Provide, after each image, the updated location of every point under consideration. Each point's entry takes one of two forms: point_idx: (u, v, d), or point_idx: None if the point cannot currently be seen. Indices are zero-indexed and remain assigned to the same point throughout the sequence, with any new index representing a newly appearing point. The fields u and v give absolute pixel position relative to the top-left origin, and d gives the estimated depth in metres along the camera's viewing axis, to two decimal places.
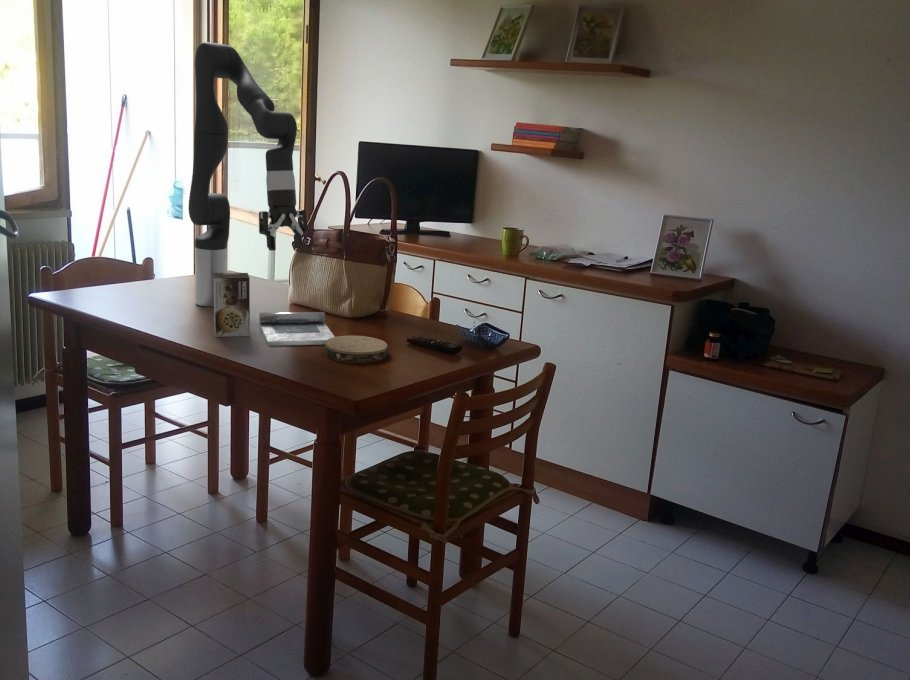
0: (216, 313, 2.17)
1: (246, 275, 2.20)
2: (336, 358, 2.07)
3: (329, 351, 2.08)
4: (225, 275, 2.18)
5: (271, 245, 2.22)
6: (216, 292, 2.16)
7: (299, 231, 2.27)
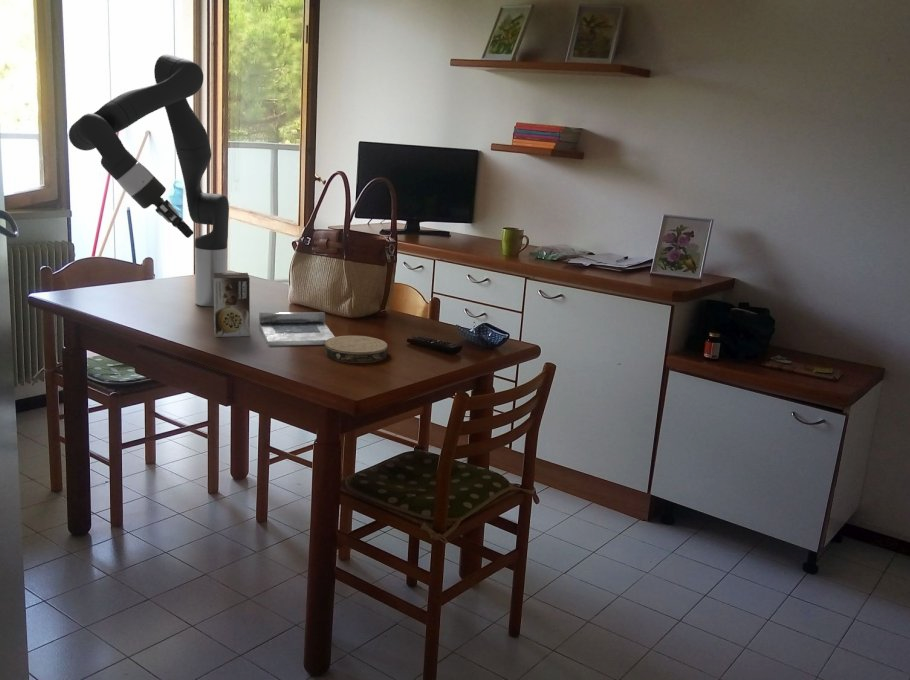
0: (216, 313, 2.17)
1: (246, 275, 2.20)
2: (336, 358, 2.07)
3: (329, 351, 2.08)
4: (225, 275, 2.18)
5: None
6: (216, 292, 2.16)
7: None
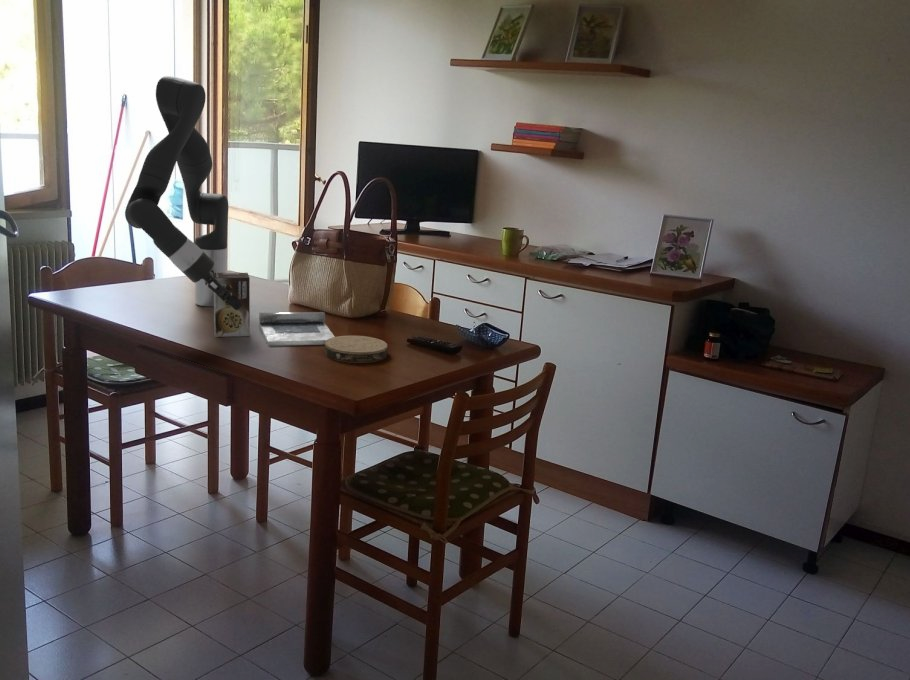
0: (216, 313, 2.17)
1: (246, 275, 2.20)
2: (336, 358, 2.07)
3: (329, 351, 2.08)
4: (225, 275, 2.18)
5: None
6: None
7: None
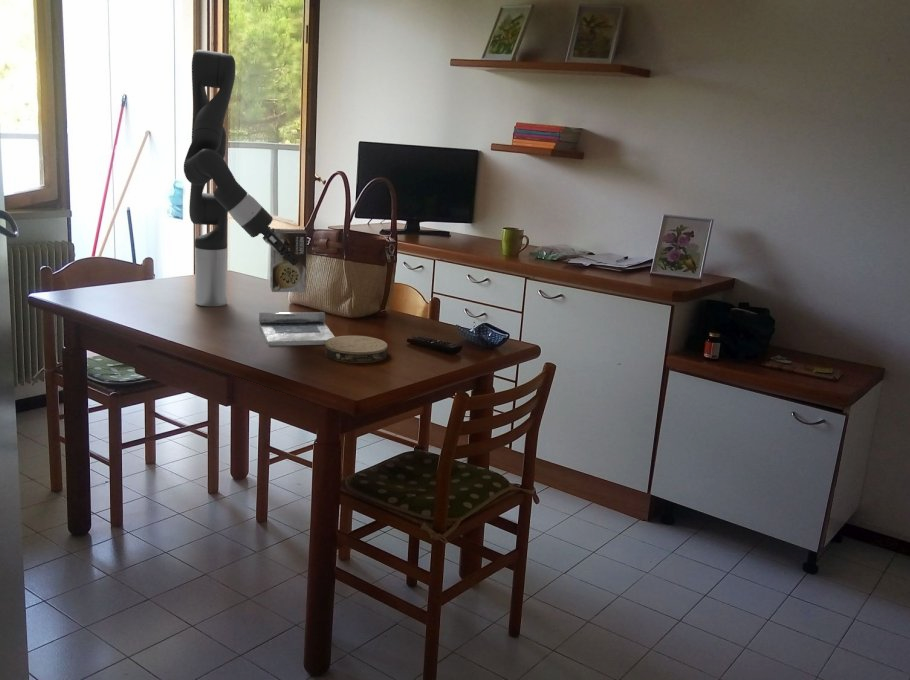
0: (273, 268, 2.19)
1: (303, 231, 2.21)
2: (336, 358, 2.07)
3: (329, 351, 2.08)
4: (283, 230, 2.19)
5: None
6: None
7: None
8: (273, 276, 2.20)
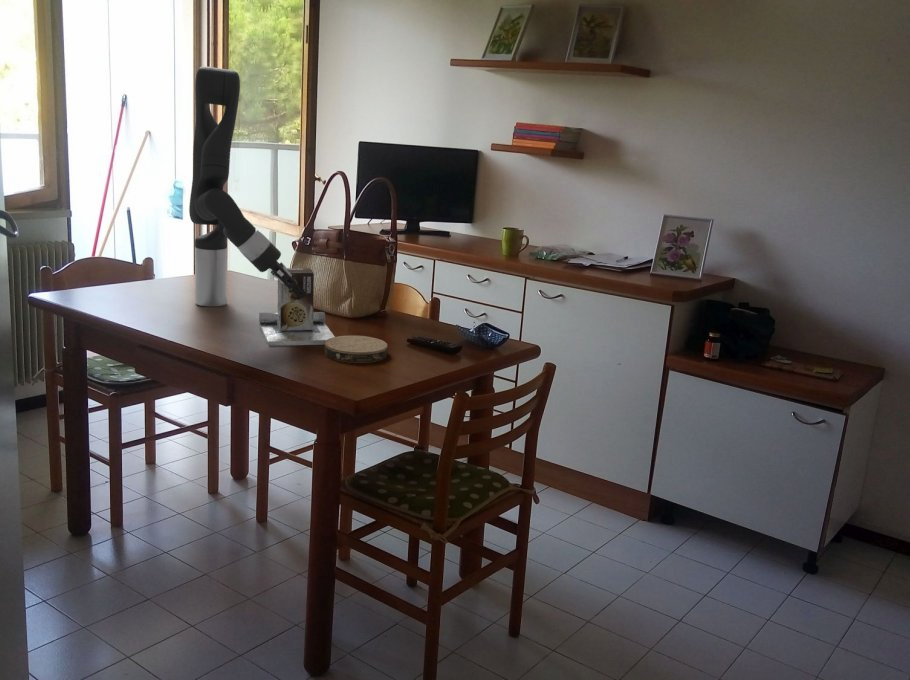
0: (281, 307, 2.23)
1: (310, 270, 2.25)
2: (336, 358, 2.07)
3: (329, 351, 2.08)
4: (290, 270, 2.23)
5: None
6: (282, 287, 2.21)
7: None
8: (281, 315, 2.23)
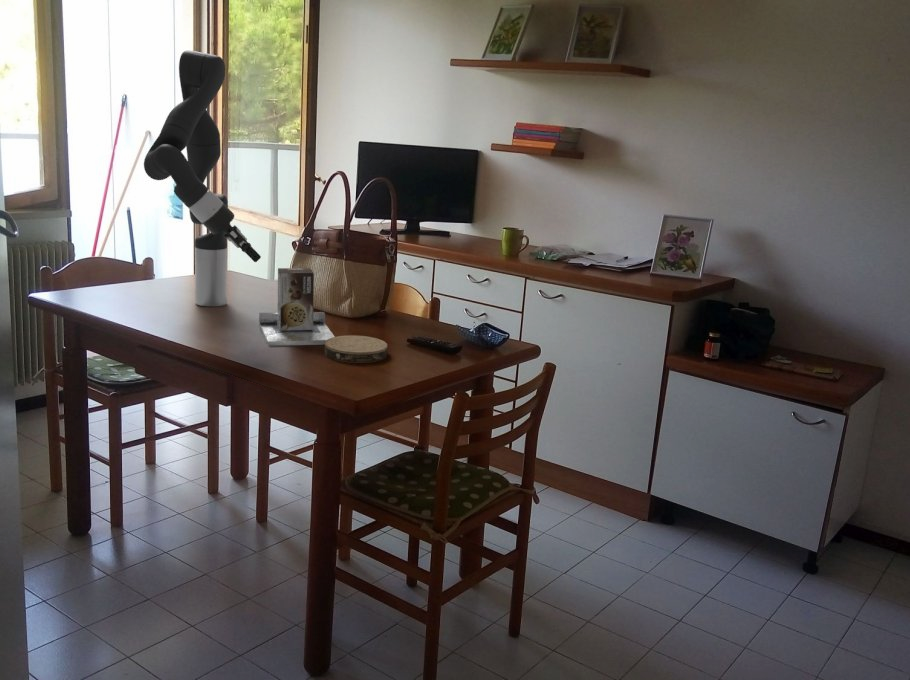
0: (281, 307, 2.23)
1: (310, 270, 2.25)
2: (336, 358, 2.07)
3: (329, 351, 2.08)
4: (290, 270, 2.23)
5: None
6: (282, 287, 2.21)
7: None
8: (281, 315, 2.23)
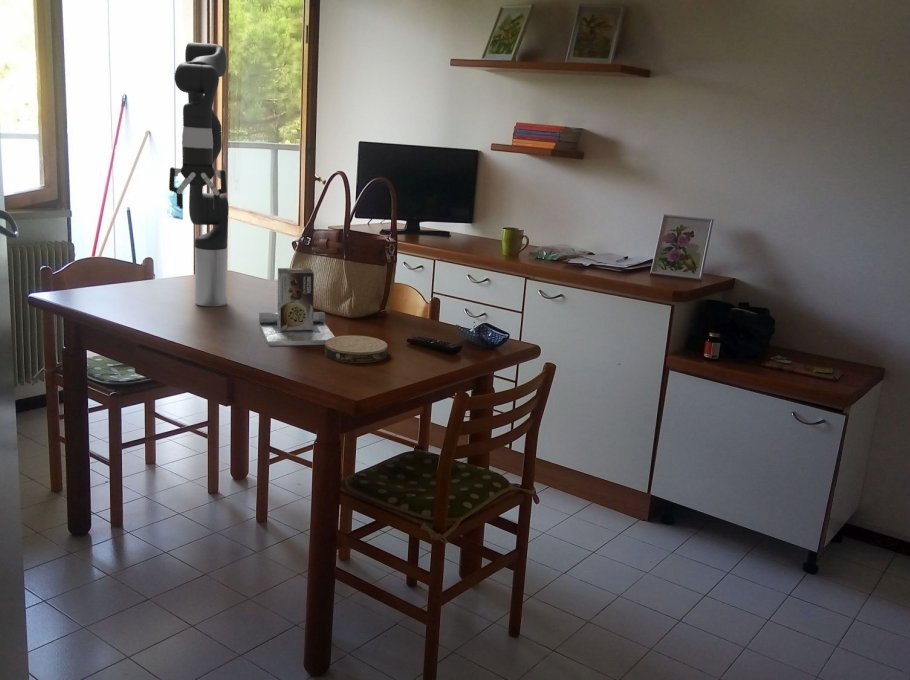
0: (281, 307, 2.23)
1: (310, 270, 2.25)
2: (336, 358, 2.07)
3: (329, 351, 2.08)
4: (290, 270, 2.23)
5: (178, 203, 2.16)
6: (282, 287, 2.21)
7: (215, 192, 2.18)
8: (281, 315, 2.23)
